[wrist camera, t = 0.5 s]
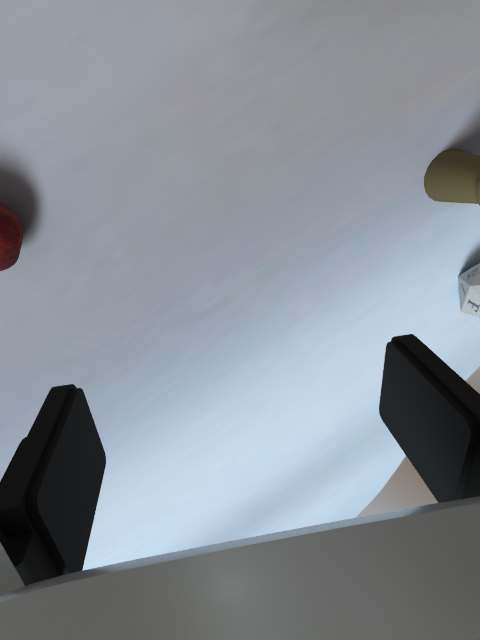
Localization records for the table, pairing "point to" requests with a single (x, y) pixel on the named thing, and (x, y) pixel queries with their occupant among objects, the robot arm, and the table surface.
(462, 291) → the die
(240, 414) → the table surface
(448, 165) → the tan pawn
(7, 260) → the apple
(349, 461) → the table surface
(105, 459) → the robot arm
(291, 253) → the table surface
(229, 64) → the table surface
